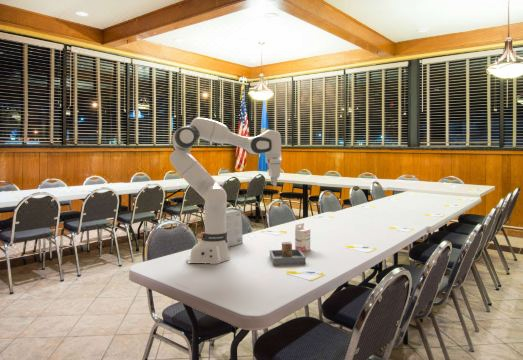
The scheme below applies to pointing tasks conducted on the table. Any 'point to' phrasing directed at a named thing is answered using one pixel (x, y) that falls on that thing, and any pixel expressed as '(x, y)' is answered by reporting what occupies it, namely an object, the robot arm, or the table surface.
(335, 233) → the table surface
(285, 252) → the walnut block
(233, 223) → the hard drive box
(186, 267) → the table surface
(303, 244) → the ink cartridge box
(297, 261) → the sorting tray
